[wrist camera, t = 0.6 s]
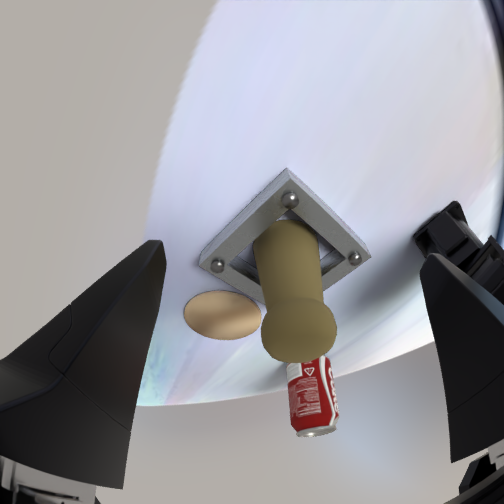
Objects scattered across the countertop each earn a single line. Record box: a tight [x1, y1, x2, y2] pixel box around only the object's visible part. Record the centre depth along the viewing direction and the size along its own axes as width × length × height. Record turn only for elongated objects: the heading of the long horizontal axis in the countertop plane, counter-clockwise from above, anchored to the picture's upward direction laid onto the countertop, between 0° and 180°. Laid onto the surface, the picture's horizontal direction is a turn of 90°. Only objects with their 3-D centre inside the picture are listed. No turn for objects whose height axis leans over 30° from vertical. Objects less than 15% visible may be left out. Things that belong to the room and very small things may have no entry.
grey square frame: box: [199, 168, 371, 305], centre depth 24 cm, size 11×11×2 cm
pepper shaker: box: [253, 219, 337, 363], centre depth 21 cm, size 6×6×11 cm
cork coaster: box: [184, 291, 261, 340], centre depth 31 cm, size 9×9×1 cm
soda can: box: [286, 355, 339, 437], centre depth 35 cm, size 7×7×12 cm
